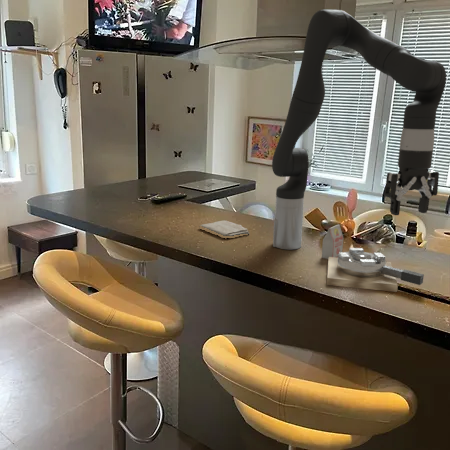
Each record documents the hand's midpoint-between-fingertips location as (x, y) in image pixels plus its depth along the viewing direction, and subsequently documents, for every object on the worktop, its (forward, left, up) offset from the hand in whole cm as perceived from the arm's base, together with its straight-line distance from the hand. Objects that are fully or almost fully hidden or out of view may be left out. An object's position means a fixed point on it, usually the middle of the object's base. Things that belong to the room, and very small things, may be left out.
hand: (408, 213), depth 114 cm
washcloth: (-58, +43, -22) cm, 75 cm away
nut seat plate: (-10, +9, -21) cm, 25 cm away
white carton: (-18, +25, -21) cm, 37 cm away
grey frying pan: (-5, +6, -19) cm, 21 cm away
